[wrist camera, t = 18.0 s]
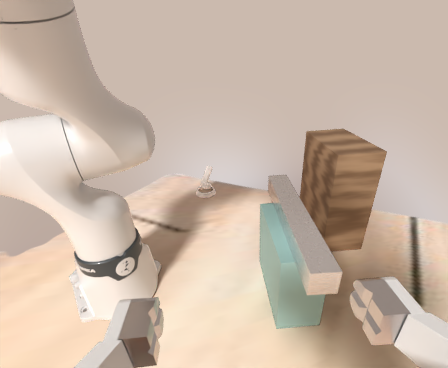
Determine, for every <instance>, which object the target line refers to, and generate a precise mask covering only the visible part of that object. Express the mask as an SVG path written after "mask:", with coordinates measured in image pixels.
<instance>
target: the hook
mask: <svg viewBox="0 0 448 368" xmlns="http://www.w3.org/2000/svg"><path fill="white" fill-rule="evenodd" d="M211 171H212V167H210V166H207V167H206V170H205V172H204V175H203V178H202V180H201V184H200V187H199V188H198V189H197V191H196V195H197V196H198V197H201V198H208V197H212V196H214V195H215V194H216V190H215V188H214V187H213V186H212V185H211V183H209V182H208V179H209V176H210V173H211ZM201 189H213V190H212V191H211V192H208V193H201V192H199V190H201Z"/></svg>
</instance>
